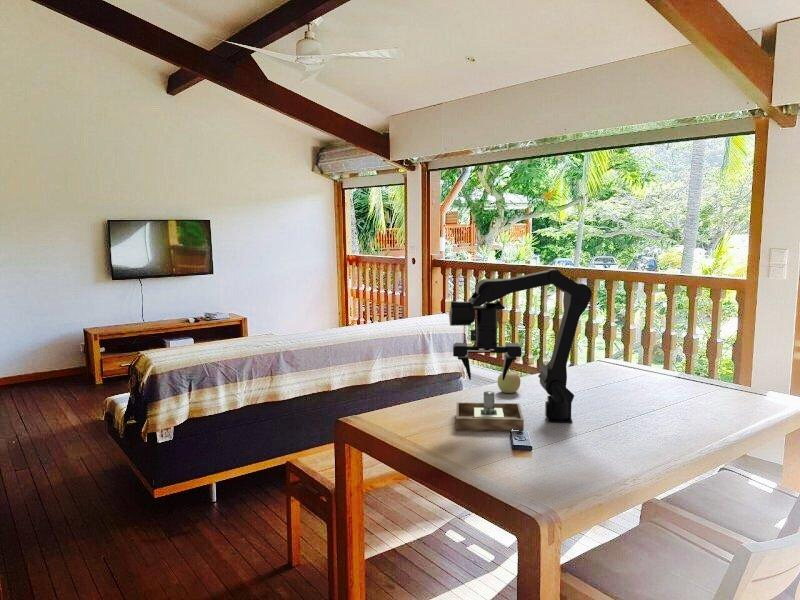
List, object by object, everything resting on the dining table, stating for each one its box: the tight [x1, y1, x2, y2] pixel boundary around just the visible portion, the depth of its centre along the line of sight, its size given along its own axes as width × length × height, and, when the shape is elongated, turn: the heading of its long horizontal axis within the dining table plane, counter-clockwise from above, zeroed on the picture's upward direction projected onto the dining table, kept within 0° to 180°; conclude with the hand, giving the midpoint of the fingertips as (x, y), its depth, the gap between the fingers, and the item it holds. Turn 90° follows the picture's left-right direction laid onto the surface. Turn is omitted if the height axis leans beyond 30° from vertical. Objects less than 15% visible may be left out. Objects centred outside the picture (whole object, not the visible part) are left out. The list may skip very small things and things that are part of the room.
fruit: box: [497, 368, 521, 394], centre depth 196 cm, size 8×7×8 cm
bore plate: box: [474, 408, 504, 418], centre depth 167 cm, size 8×8×2 cm
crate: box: [455, 401, 525, 433], centre depth 167 cm, size 18×14×4 cm
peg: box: [483, 390, 495, 415], centre depth 167 cm, size 3×3×8 cm
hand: (486, 379), depth 167 cm, fingers open, 9 cm apart
